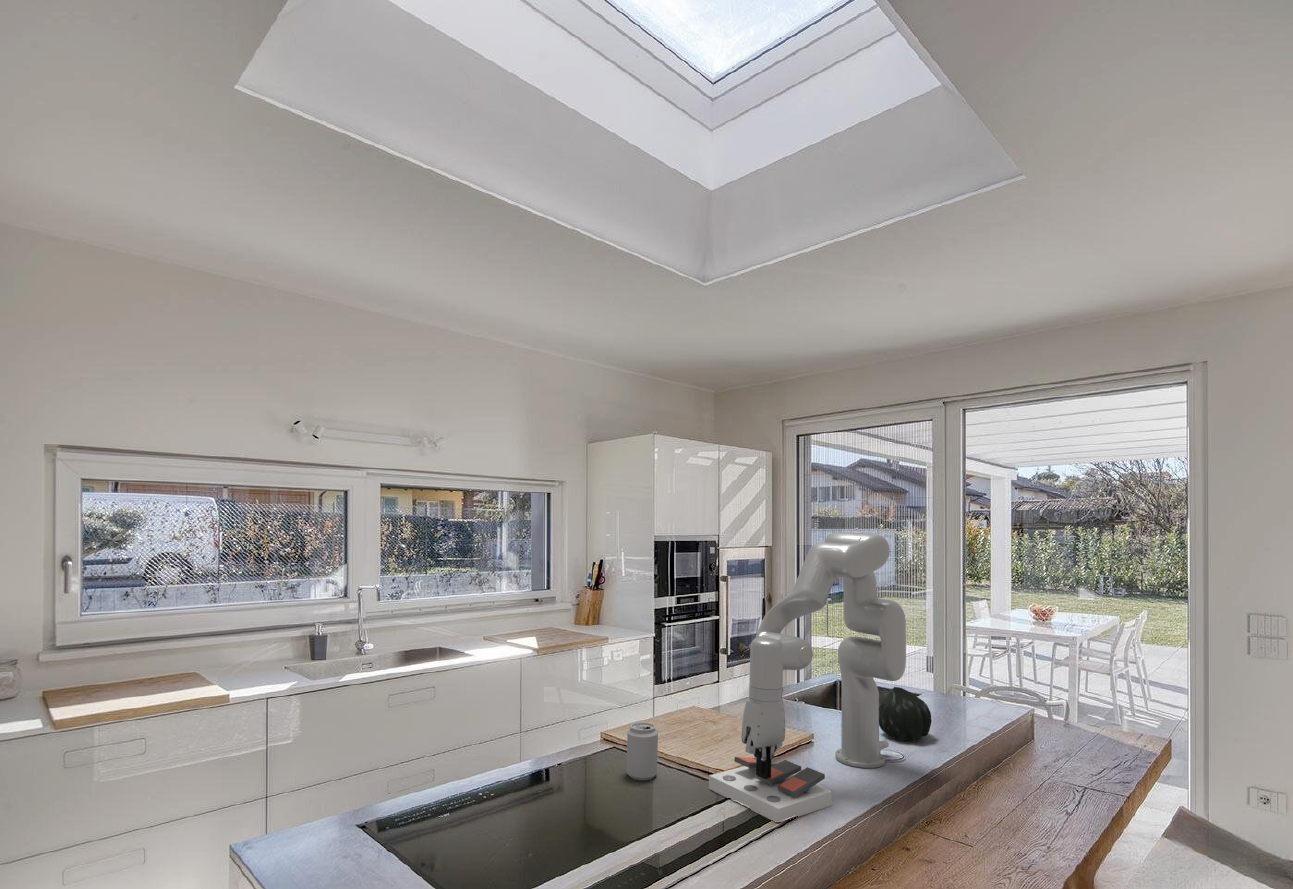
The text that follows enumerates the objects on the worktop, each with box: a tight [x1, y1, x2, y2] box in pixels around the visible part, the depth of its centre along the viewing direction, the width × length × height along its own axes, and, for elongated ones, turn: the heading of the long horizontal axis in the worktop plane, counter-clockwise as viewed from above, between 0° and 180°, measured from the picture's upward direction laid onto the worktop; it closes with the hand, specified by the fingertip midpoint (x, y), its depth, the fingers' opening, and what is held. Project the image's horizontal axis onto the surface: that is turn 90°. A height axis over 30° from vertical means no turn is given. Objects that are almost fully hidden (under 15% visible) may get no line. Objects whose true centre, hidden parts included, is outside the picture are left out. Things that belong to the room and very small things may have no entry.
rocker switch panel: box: [708, 765, 833, 822], centre depth 167 cm, size 17×22×4 cm
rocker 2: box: [777, 766, 826, 797], centre depth 164 cm, size 10×5×1 cm, turn 126°
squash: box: [879, 686, 932, 742], centre depth 213 cm, size 14×15×15 cm
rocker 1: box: [733, 756, 778, 768], centre depth 175 cm, size 10×5×1 cm, turn 126°
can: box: [625, 721, 659, 781], centre depth 178 cm, size 8×8×12 cm
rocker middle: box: [755, 759, 802, 785], centre depth 169 cm, size 10×5×1 cm, turn 126°
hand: (763, 776), depth 166 cm, fingers closed
